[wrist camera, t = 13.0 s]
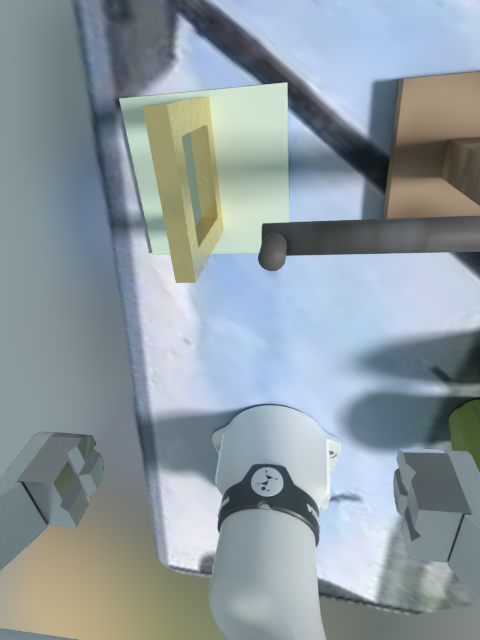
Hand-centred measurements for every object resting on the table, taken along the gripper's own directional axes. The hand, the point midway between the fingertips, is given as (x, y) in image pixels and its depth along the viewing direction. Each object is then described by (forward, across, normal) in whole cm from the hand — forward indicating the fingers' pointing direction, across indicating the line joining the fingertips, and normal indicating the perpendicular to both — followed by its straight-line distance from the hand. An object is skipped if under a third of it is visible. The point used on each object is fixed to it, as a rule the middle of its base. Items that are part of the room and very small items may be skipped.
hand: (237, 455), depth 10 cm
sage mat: (+32, -7, +2) cm, 32 cm away
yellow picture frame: (+31, -7, +3) cm, 32 cm away
